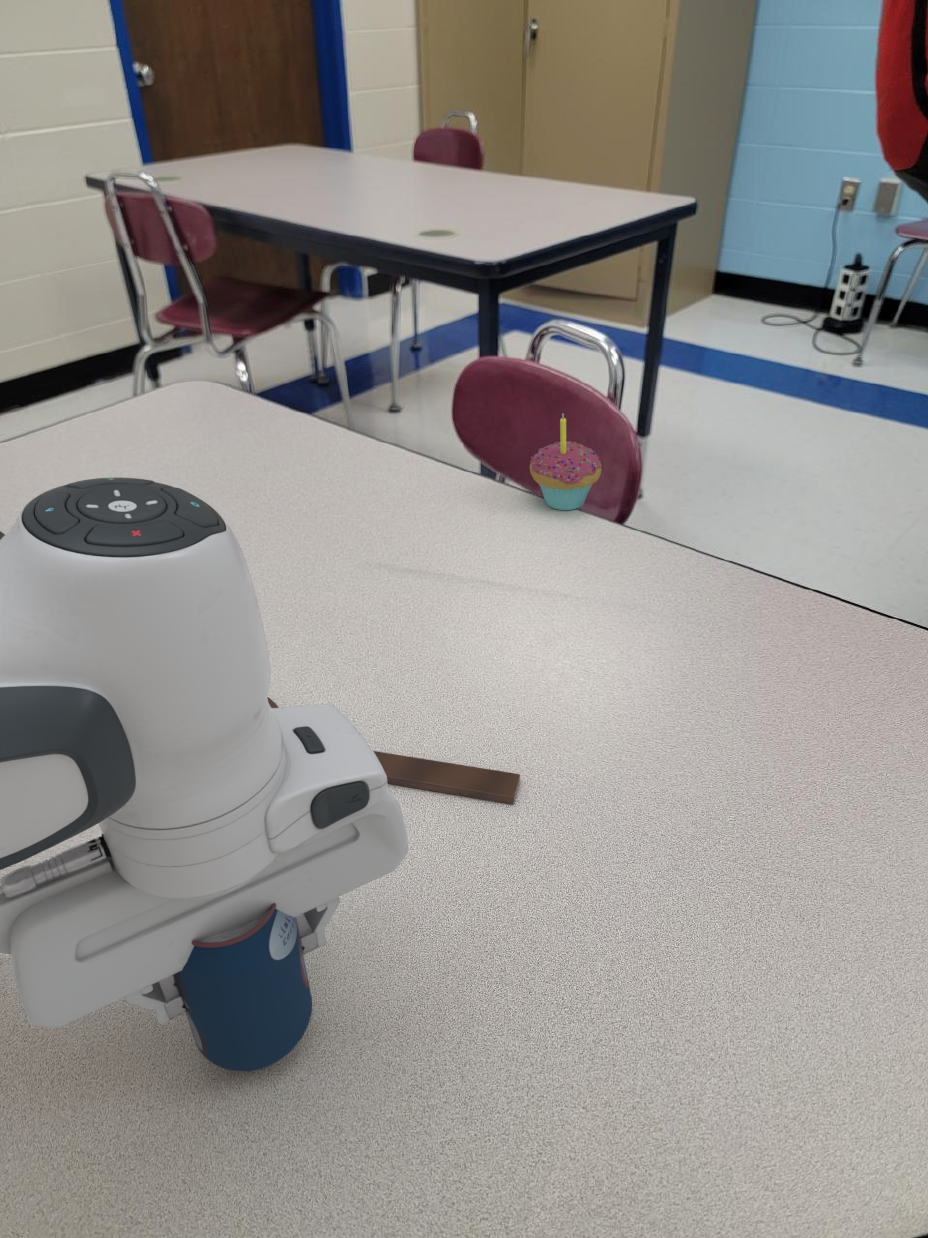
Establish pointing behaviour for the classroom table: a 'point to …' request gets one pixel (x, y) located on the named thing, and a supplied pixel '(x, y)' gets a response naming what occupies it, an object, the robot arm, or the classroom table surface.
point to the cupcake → (565, 471)
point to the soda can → (247, 993)
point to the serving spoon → (447, 776)
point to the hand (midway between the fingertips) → (243, 973)
